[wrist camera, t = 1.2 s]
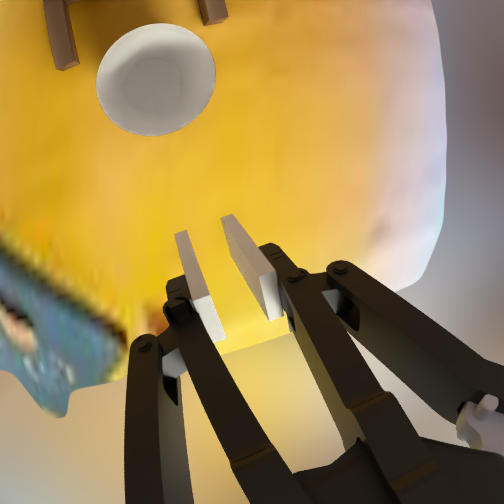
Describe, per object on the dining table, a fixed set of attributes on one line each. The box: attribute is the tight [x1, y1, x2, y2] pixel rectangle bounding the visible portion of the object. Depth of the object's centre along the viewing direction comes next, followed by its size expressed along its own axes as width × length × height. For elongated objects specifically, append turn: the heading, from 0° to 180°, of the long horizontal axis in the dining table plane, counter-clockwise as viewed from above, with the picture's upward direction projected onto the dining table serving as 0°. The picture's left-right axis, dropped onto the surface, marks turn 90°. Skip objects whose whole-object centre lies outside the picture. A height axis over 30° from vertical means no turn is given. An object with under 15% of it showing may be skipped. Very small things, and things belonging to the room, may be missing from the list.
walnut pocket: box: [43, 0, 228, 71], centre depth 21 cm, size 18×10×3 cm, turn 102°
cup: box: [96, 23, 216, 136], centre depth 23 cm, size 9×9×12 cm
